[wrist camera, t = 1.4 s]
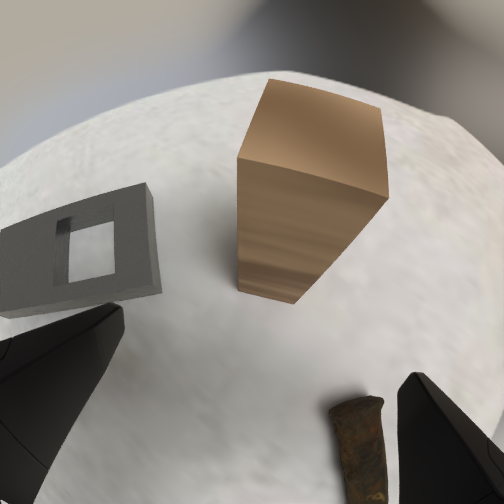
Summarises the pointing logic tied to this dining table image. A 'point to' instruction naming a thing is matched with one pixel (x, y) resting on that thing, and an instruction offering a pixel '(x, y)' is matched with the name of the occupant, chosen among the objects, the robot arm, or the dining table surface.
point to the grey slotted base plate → (57, 254)
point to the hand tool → (362, 449)
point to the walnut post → (305, 186)
